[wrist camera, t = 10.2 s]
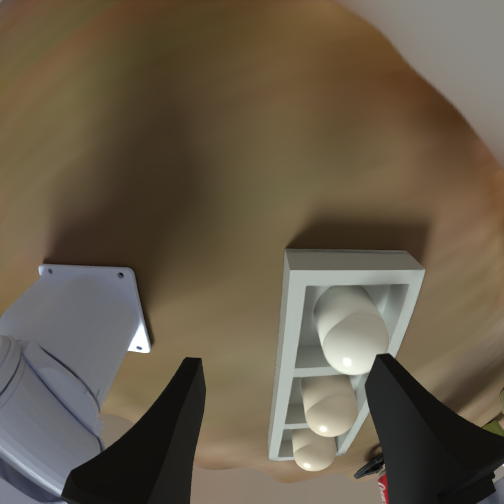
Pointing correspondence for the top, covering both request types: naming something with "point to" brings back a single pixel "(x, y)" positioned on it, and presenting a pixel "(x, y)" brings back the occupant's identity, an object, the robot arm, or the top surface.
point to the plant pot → (494, 428)
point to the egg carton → (312, 357)
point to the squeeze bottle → (502, 400)
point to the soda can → (383, 486)
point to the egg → (350, 329)
